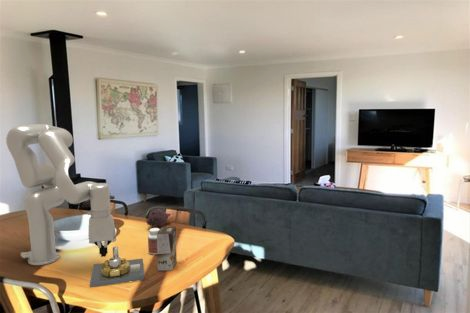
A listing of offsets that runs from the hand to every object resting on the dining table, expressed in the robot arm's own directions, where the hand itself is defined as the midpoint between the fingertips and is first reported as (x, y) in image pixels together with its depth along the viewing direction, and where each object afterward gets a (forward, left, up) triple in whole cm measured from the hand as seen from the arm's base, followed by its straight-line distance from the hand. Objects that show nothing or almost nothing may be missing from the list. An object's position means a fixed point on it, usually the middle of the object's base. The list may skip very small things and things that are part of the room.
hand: (103, 255), depth 151 cm
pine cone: (+26, +47, -6) cm, 54 cm away
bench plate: (+6, -7, -6) cm, 11 cm away
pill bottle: (+22, +11, -6) cm, 25 cm away
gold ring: (+5, -6, -3) cm, 9 cm away
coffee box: (+26, -5, -6) cm, 27 cm away
